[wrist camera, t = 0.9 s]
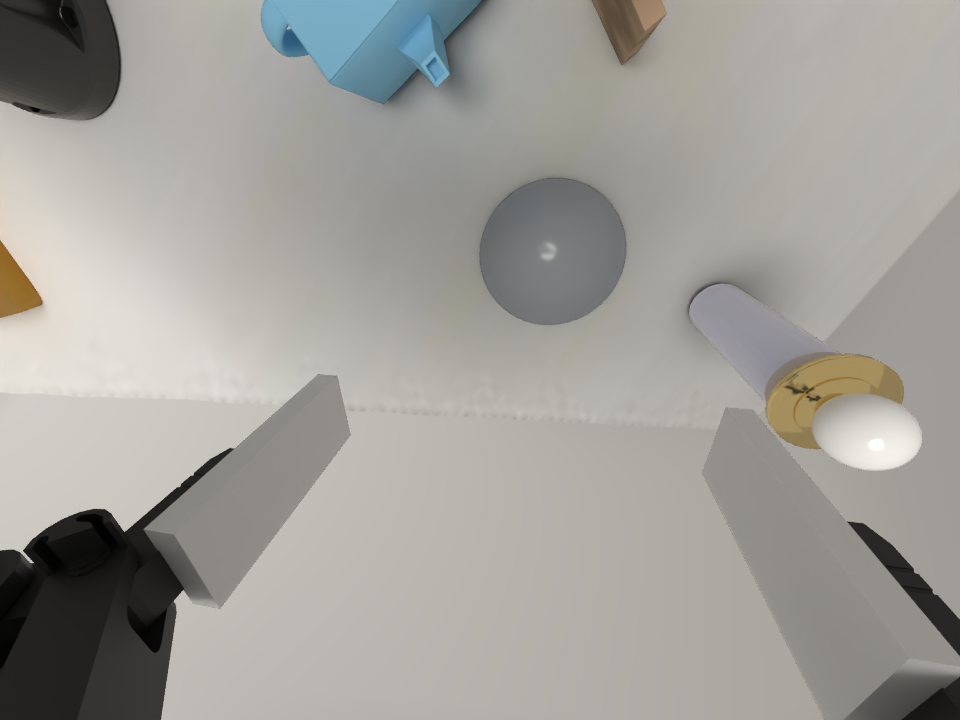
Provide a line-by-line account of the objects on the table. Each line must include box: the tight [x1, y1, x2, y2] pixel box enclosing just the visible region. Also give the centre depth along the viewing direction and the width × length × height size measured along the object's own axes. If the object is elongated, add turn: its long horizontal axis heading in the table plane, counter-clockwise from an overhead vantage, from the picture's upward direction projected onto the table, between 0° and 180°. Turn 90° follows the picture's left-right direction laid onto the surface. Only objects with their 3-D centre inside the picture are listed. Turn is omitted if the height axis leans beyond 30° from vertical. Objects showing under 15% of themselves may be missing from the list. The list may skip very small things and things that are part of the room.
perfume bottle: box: [689, 284, 923, 471], centre depth 24 cm, size 6×6×20 cm
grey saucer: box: [480, 178, 626, 325], centre depth 33 cm, size 13×13×1 cm
